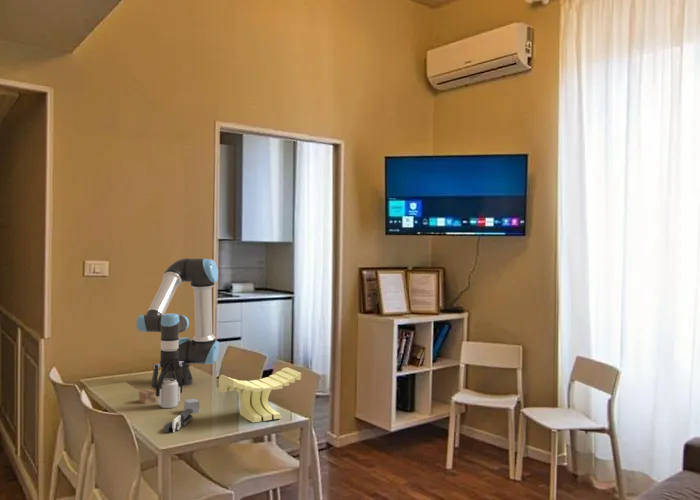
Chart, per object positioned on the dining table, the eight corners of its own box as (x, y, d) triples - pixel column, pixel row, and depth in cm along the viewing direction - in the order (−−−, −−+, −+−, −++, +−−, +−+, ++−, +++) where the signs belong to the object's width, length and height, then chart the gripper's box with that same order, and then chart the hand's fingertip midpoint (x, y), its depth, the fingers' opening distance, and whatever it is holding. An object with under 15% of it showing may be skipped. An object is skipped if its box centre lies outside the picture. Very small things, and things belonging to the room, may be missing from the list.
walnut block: (148, 400, 272) (148, 389, 272) (155, 402, 269) (155, 391, 269) (139, 402, 268) (139, 391, 268) (145, 404, 265) (145, 393, 265)
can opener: (176, 434, 225) (177, 420, 225) (160, 433, 226) (160, 420, 226) (196, 419, 244) (196, 407, 244) (181, 418, 245) (181, 406, 245)
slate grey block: (196, 410, 257) (196, 398, 257) (198, 413, 253) (199, 401, 253) (184, 411, 255) (184, 399, 255) (186, 414, 250) (187, 402, 250)
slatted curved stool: (283, 406, 266) (284, 366, 266) (300, 415, 252) (301, 372, 252) (218, 415, 250) (218, 372, 249) (232, 425, 236) (233, 380, 236)
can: (181, 405, 263) (181, 378, 263) (170, 410, 256) (171, 382, 256) (166, 404, 266) (167, 377, 266) (156, 408, 259) (156, 380, 259)
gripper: (188, 346, 270) (187, 397, 270) (143, 350, 258) (142, 403, 258) (195, 348, 264) (194, 400, 264) (149, 353, 252) (148, 407, 252)
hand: (168, 402), depth 261 cm, fingers closed on can, 7 cm apart
